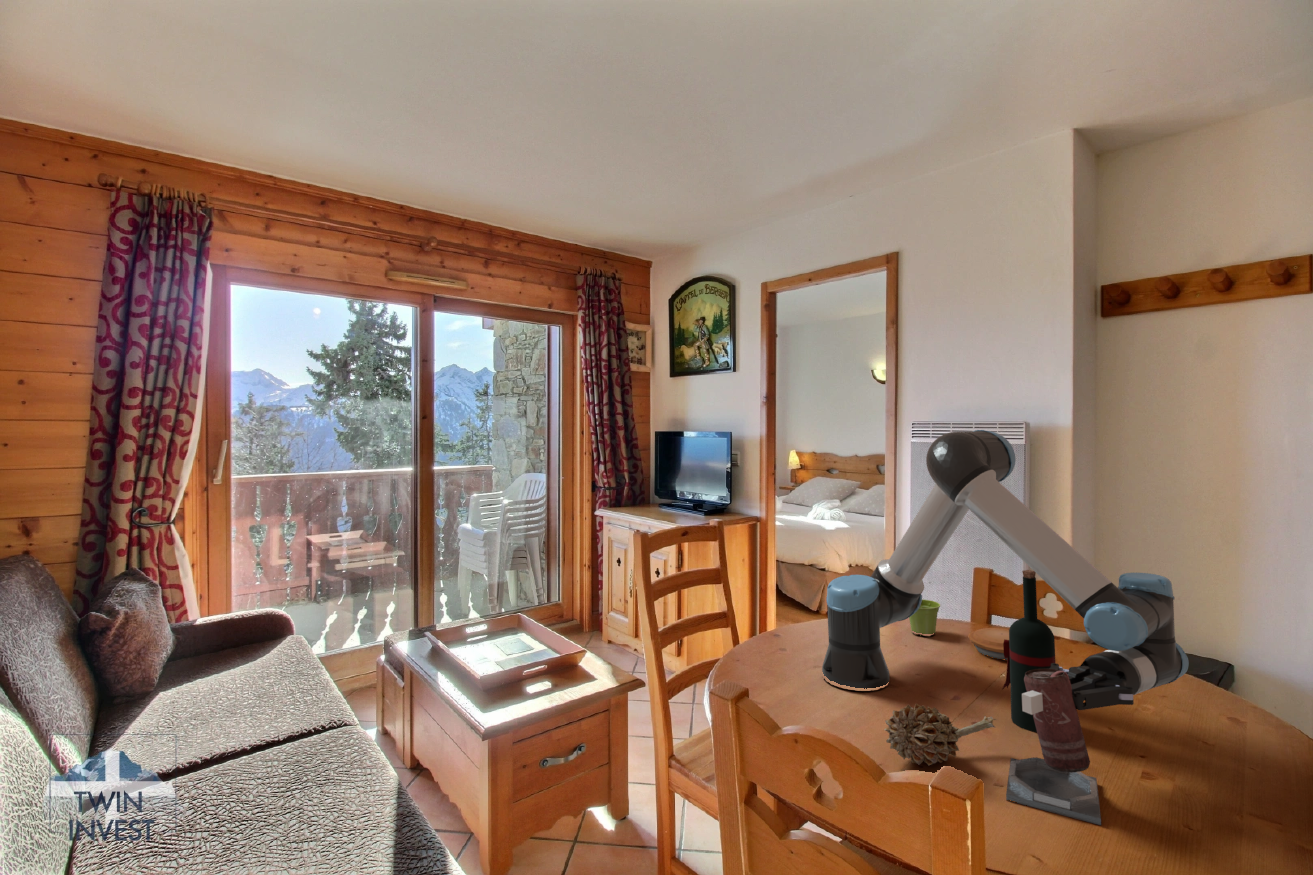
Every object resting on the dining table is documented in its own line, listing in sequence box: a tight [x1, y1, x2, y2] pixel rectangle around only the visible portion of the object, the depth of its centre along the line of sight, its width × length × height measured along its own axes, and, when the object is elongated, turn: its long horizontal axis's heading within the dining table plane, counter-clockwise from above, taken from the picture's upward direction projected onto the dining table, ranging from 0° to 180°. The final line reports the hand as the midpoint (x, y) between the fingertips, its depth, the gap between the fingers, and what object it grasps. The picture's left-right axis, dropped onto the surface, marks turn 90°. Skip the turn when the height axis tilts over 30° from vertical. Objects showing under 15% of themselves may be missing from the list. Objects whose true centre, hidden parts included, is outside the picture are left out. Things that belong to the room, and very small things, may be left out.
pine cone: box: [883, 703, 997, 766], centre depth 107 cm, size 22×10×10 cm, turn 109°
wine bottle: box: [1001, 569, 1057, 733], centre depth 119 cm, size 8×10×30 cm
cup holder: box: [1005, 757, 1102, 826], centre depth 96 cm, size 12×12×2 cm
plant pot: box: [908, 598, 941, 634], centre depth 170 cm, size 9×9×9 cm
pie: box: [967, 627, 1010, 661], centre depth 154 cm, size 15×16×5 cm
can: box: [1024, 669, 1091, 772], centre depth 95 cm, size 6×6×14 cm
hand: (1026, 704), depth 93 cm, fingers closed
